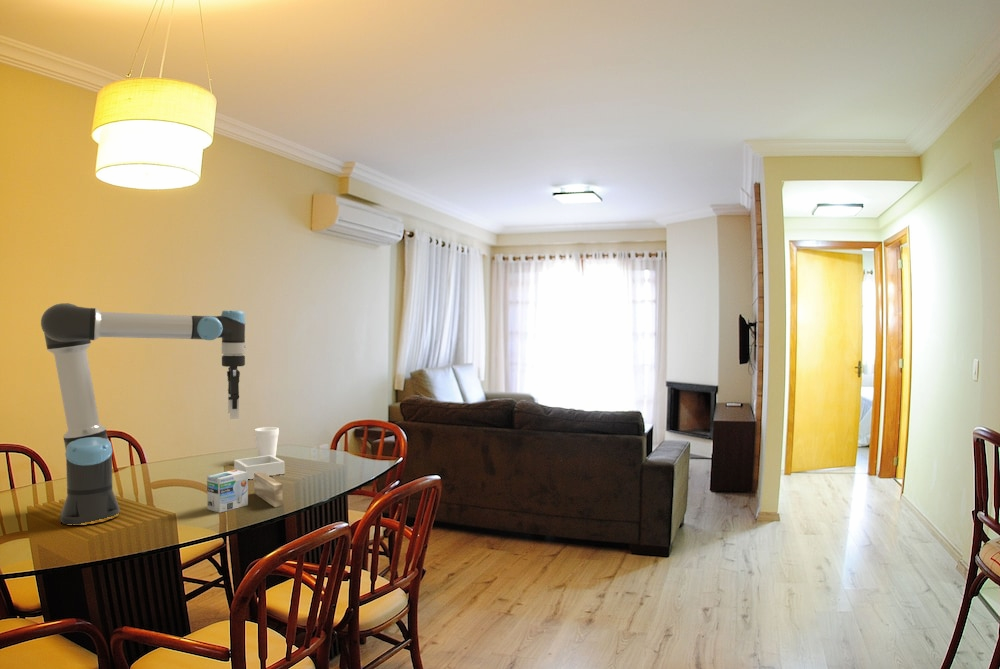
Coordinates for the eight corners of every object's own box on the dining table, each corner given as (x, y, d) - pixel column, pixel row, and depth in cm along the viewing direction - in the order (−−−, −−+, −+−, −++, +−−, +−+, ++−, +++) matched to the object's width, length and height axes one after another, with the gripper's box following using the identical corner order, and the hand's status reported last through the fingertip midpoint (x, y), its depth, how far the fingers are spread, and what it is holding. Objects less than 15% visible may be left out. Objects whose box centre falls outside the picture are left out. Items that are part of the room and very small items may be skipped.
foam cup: (258, 457, 283) (258, 427, 283) (281, 457, 284) (280, 426, 284) (252, 463, 274) (252, 431, 273) (276, 462, 275) (275, 430, 274)
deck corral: (246, 480, 246) (245, 467, 246) (234, 472, 258) (234, 459, 257) (284, 474, 255) (284, 461, 255) (271, 467, 266) (271, 454, 266)
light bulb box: (219, 513, 207) (219, 478, 207) (206, 509, 211) (205, 475, 210) (249, 504, 216) (248, 471, 216) (235, 501, 220) (235, 468, 220)
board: (274, 507, 214) (274, 485, 213) (254, 493, 230) (254, 473, 229) (282, 505, 215) (282, 484, 215) (261, 492, 231) (261, 471, 231)
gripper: (247, 357, 224) (247, 420, 225) (242, 352, 247) (242, 410, 248) (223, 357, 221) (223, 421, 222) (220, 352, 244) (220, 411, 245)
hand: (233, 415), depth 235 cm, fingers open, 13 cm apart
